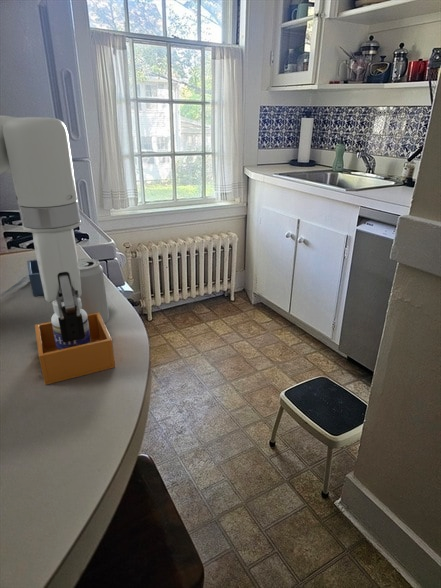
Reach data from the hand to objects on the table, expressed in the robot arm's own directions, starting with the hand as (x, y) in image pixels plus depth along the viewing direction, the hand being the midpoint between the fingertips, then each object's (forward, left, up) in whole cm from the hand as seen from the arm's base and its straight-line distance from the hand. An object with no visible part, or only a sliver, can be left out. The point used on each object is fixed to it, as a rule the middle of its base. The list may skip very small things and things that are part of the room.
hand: (71, 329), depth 61 cm
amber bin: (0, 0, -5) cm, 5 cm away
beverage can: (-2, +12, -6) cm, 13 cm away
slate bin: (-16, +30, -5) cm, 35 cm away
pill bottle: (0, 0, -4) cm, 4 cm away
